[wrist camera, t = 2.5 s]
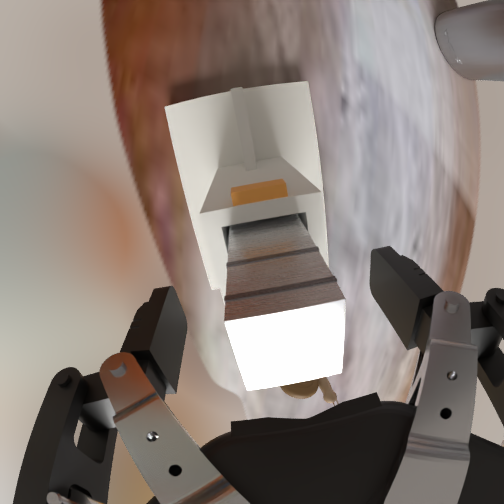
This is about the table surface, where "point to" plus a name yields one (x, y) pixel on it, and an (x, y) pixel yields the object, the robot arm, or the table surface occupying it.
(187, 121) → the grey stand
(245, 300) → the steel bar
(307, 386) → the snail figurine
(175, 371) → the robot arm
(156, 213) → the table surface
